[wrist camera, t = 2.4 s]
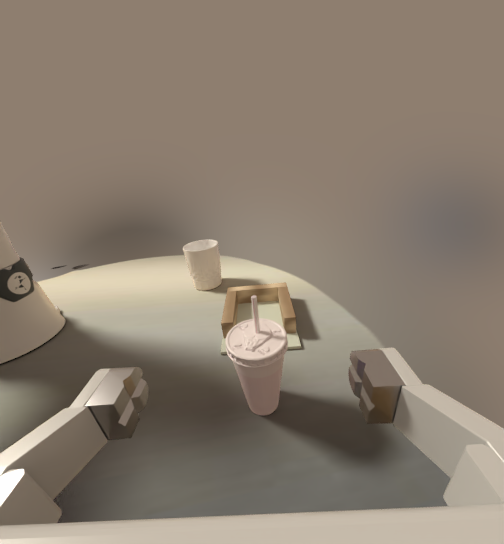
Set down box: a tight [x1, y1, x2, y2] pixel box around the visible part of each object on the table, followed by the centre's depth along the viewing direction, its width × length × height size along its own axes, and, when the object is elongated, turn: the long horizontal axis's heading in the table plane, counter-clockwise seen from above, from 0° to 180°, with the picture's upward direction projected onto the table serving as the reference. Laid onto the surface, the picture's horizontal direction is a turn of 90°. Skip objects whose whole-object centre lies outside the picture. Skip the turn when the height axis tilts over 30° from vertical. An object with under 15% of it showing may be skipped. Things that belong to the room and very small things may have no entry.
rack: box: [221, 283, 296, 338], centre depth 42 cm, size 12×12×3 cm
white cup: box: [183, 240, 222, 290], centre depth 55 cm, size 8×8×10 cm
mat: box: [221, 301, 301, 355], centre depth 42 cm, size 12×16×1 cm
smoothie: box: [226, 295, 288, 415], centre depth 25 cm, size 6×6×14 cm
